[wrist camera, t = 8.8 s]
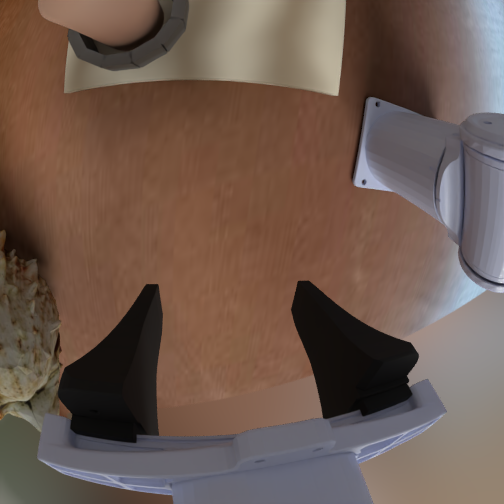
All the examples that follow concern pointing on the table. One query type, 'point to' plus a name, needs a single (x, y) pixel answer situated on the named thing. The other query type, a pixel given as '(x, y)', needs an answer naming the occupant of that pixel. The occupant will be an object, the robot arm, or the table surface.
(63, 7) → the peg
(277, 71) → the holder board
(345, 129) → the table surface
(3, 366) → the seashell
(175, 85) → the table surface
